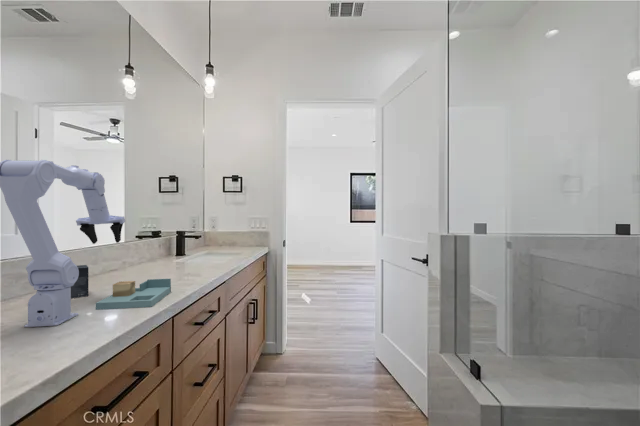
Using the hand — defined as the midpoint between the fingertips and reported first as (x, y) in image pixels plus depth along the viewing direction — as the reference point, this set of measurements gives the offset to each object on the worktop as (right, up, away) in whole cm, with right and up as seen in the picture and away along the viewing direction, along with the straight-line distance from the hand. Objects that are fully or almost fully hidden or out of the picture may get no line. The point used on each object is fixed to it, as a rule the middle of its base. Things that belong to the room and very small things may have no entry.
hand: (106, 241), depth 115 cm
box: (-12, -20, +2) cm, 23 cm away
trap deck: (+13, -19, -5) cm, 24 cm away
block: (+9, -17, -5) cm, 20 cm away
